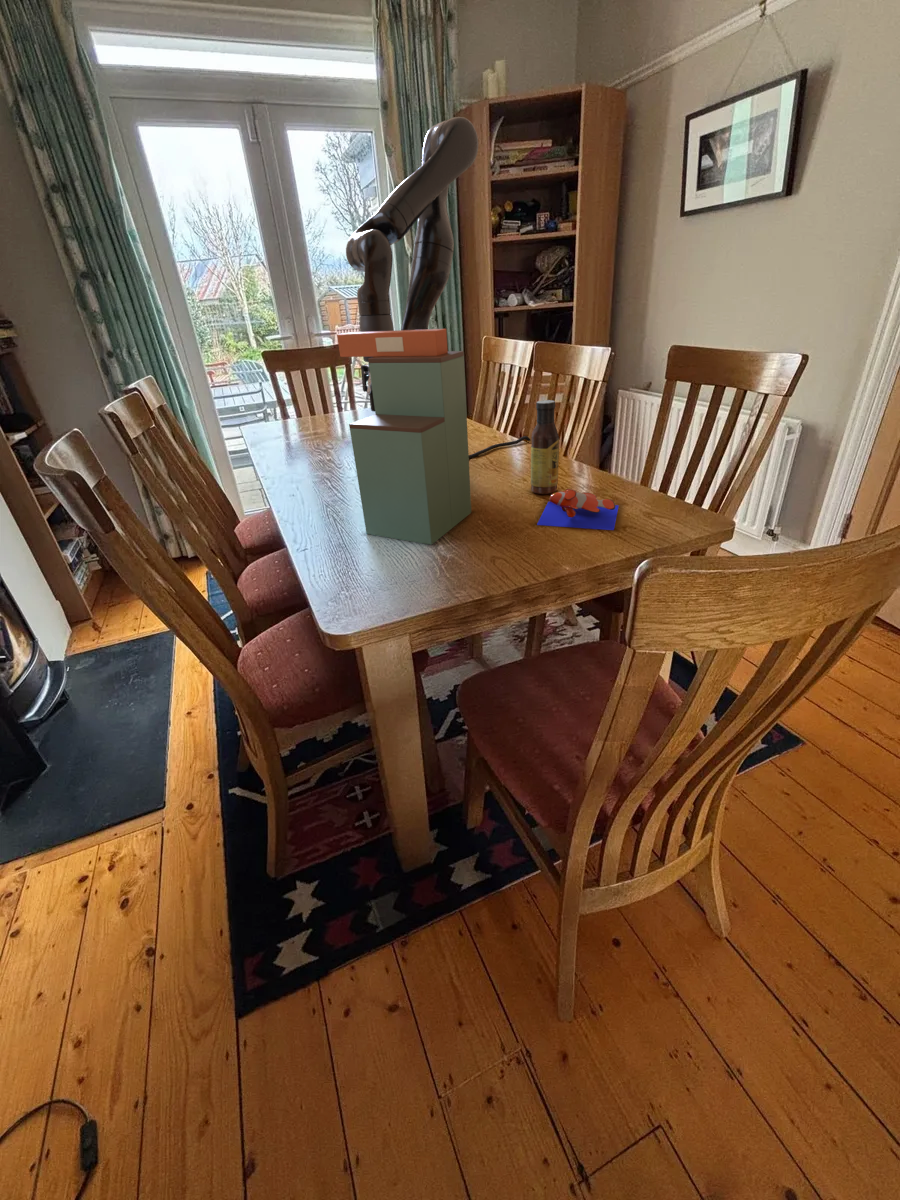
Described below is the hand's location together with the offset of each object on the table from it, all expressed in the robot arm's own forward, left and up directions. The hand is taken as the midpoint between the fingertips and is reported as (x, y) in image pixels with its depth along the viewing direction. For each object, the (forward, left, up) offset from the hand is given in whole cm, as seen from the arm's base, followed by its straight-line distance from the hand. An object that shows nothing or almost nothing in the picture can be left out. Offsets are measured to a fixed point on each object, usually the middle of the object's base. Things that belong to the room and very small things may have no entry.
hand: (385, 412), depth 128 cm
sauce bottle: (-18, +34, -18) cm, 43 cm away
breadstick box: (+11, +20, +15) cm, 27 cm away
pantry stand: (+13, +27, -17) cm, 34 cm away
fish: (-11, +49, -18) cm, 54 cm away
